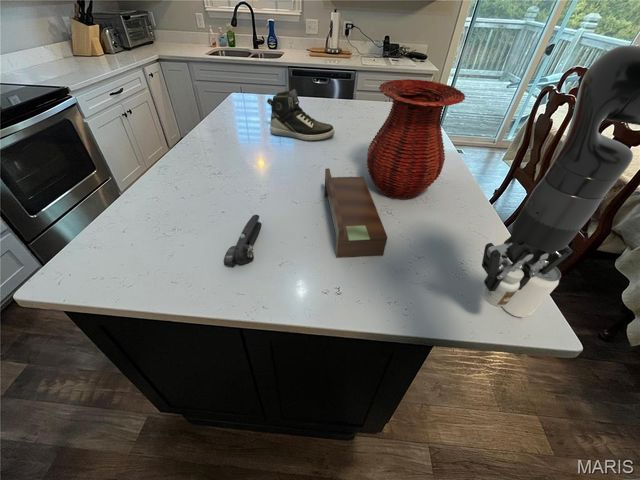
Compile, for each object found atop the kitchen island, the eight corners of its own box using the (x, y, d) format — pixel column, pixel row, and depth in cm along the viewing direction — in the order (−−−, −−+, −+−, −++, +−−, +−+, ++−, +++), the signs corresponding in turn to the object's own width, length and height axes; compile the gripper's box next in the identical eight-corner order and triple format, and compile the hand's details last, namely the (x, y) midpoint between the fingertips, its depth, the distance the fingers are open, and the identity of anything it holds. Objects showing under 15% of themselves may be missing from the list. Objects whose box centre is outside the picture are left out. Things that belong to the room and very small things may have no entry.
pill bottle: (502, 311, 54) (523, 284, 49) (478, 298, 56) (495, 270, 51) (509, 297, 56) (530, 270, 51) (486, 285, 58) (504, 257, 53)
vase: (358, 168, 106) (371, 76, 86) (422, 170, 107) (450, 79, 87) (366, 207, 89) (384, 103, 69) (443, 208, 90) (483, 106, 69)
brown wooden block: (383, 257, 74) (390, 229, 68) (336, 259, 73) (339, 231, 67) (361, 193, 95) (364, 167, 88) (324, 194, 94) (325, 168, 87)
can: (522, 294, 67) (552, 257, 58) (536, 319, 62) (571, 283, 54) (493, 293, 67) (519, 256, 58) (505, 318, 62) (536, 281, 54)
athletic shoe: (274, 129, 132) (270, 85, 120) (335, 134, 128) (337, 89, 116) (266, 138, 124) (261, 92, 113) (331, 143, 120) (333, 96, 109)
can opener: (249, 273, 69) (246, 256, 65) (221, 268, 69) (216, 251, 66) (271, 225, 82) (269, 209, 78) (247, 222, 82) (244, 205, 79)
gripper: (524, 230, 39) (474, 306, 50) (621, 226, 40) (551, 301, 52) (494, 198, 45) (455, 273, 56) (580, 195, 46) (525, 269, 57)
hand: (502, 286), depth 54 cm, fingers closed on pill bottle, 4 cm apart
